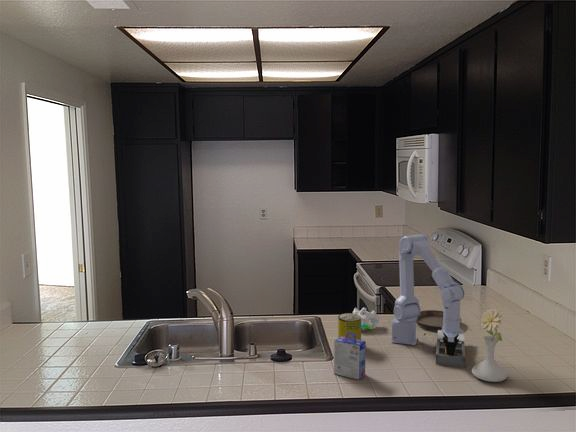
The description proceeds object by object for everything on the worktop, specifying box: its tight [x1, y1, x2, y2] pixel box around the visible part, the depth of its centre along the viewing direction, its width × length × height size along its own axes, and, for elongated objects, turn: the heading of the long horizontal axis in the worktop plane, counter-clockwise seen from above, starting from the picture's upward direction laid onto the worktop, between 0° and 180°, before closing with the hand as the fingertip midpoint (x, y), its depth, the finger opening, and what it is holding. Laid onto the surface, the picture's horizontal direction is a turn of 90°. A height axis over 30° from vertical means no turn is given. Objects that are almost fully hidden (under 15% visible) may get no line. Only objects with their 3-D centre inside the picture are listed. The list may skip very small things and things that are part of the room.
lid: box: [436, 327, 465, 343], centre depth 202 cm, size 10×10×2 cm
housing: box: [435, 339, 466, 368], centre depth 193 cm, size 10×18×4 cm, turn 162°
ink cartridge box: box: [333, 332, 367, 380], centre depth 177 cm, size 10×6×14 cm, turn 58°
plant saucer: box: [416, 309, 463, 332], centre depth 227 cm, size 21×21×3 cm
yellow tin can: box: [337, 312, 362, 340], centre depth 203 cm, size 9×9×12 cm
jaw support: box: [352, 307, 381, 331], centre depth 223 cm, size 12×9×10 cm
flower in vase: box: [471, 308, 508, 383], centre depth 172 cm, size 13×11×25 cm
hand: (450, 354), depth 188 cm, fingers closed on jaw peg, 4 cm apart
